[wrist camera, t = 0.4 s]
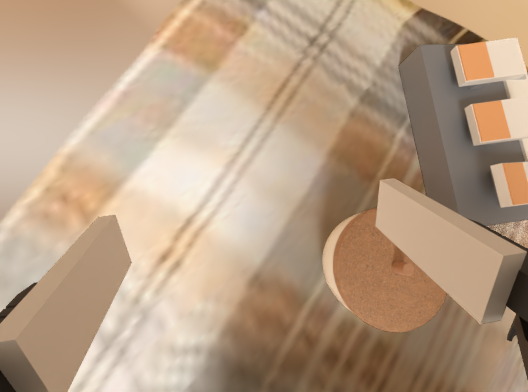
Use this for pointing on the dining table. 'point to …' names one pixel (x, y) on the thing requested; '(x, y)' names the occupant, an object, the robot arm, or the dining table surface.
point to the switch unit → (458, 136)
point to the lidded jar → (378, 277)
